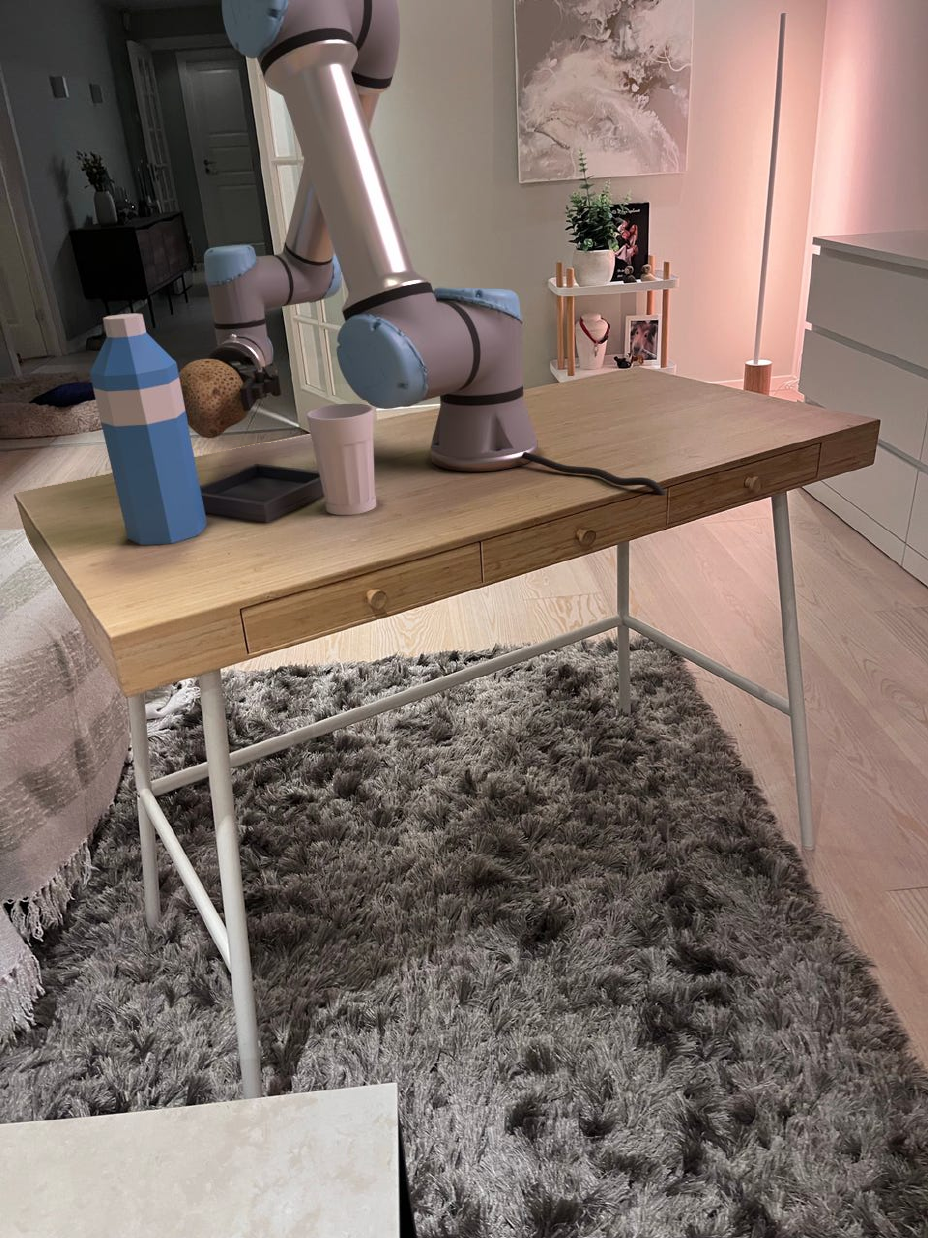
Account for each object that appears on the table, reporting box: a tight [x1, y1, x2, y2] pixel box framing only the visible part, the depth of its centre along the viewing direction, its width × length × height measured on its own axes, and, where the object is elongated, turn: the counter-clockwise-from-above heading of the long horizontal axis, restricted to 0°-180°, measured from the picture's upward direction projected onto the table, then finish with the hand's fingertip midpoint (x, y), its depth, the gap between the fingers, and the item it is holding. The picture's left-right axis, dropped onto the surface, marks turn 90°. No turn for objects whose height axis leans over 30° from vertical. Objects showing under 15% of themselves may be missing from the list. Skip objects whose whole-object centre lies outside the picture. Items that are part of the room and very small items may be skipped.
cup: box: [306, 403, 377, 516], centre depth 115 cm, size 8×8×12 cm
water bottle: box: [89, 312, 208, 546], centre depth 108 cm, size 9×9×25 cm
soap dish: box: [200, 463, 324, 524], centre depth 122 cm, size 14×14×2 cm
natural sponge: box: [179, 358, 249, 439], centre depth 118 cm, size 9×9×10 cm
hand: (204, 402), depth 113 cm, fingers closed on natural sponge, 9 cm apart
